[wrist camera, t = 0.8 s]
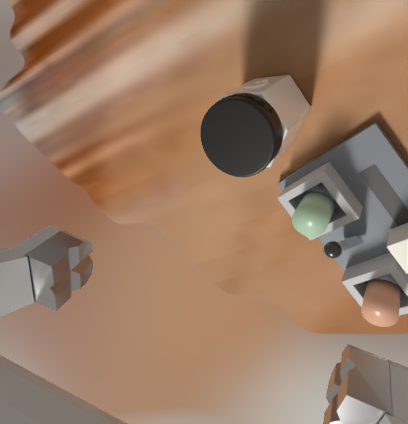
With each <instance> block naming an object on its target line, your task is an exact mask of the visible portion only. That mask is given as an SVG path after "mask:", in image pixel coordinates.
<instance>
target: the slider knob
mask: <svg viewBox="0 0 408 424" xmlns="http://www.w3.org/2000/svg"><path fill="white" fill-rule="evenodd" d="M387 248H388V250H389V251H390V252H391V254H392V255H393V256H394V258H395V259H396V260H397V262H398V263H399V264H400V266H401V267H402V268H403V270H404V271H405V272H406V274H407V273H408V223H405V224H403V225H400V226H398V227H395V228H393V229H390V230H389V234H388V240H387Z"/></svg>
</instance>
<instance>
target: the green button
mask: <svg viewBox="0 0 408 424" xmlns="http://www.w3.org/2000/svg"><path fill="white" fill-rule="evenodd" d="M333 212H334V202H333V200H332V199H331V198H330V197H329V196H328V195H327V194H325V193H323V192H319V191H313V192H309V193H307V194H306V195H305V196H304V197H303V199H302V200H301V202H300V204H299V205H298V207H297V209H296V210H295V212H294V214H293V216H292V223H293V226H294V227H295V229H296V230H297V231H298V232H299V233H301V234H303V235H305V236H308V237H316V236H319V235H321V234H323V233H324V232H325V230H326V229H327V226H328V224H329V222H330V219H331V217H332V215H333Z"/></svg>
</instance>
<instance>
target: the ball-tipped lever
mask: <svg viewBox="0 0 408 424" xmlns="http://www.w3.org/2000/svg"><path fill="white" fill-rule="evenodd" d="M362 243H364V242H363V240H362V238H361V236H360V234H358V235H355V236H352V237H350V238H347V239H344V240H341V241H339V242H336V241H330V242H328V243H327V244H326V245H325V247H324V248H322V249H323V251H324V254H325V256H326V258H328V257H330V258H337V257H339V256H340V255H341V253H342V252H343V251H345V250H348V249H350V248H352V247H355V246H357V245H359V244H362Z"/></svg>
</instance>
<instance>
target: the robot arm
mask: <svg viewBox="0 0 408 424" xmlns="http://www.w3.org/2000/svg"><path fill="white" fill-rule="evenodd" d="M92 252H93V251H92V243H91V242H90V241H88V240H85V239H83V238H81V237H79V236H76V235H74V234H72V233H69V232H67V231H64V230H62V229H59V228H57V227H55V226H47V227H46V228H44V229H42V230H41V231H39V232H37V233H36V234H34V235H33V236H31V237H29V238H28V239H26V240H25V241H23V242H22V243H20V244H18V245H17V246H15V247H14V248H12V249H8V248H4V249H0V316H2V315H4V314H7V313H9V312H12V311H15V310H17V309H20V308H22V307H25V306H27V305H30V304H32V303H34V301H35V302H37V303H40V304H42V305H44V306H46V307H49V308H51V309H53V310H56V311H57V310H58V309H59V308H60V307H61V306H62V305H63V304H64V303H66V302H67V301H68V300H69V299H70V298H71V295H72V291H74V290H78V289H81V288H82V287H83V286H84V285H85V284H86V283H87V281H88V279H89V278H90V276H91V274H92V269H93V262H92V260H91V258H90V256H89V255H90V254H91V253H92ZM326 398H327V400H328V402H329V406H328V408H327V409H326V411H325V413H324V422H323V424H408V367H405V366H403V365H400V364H398V363H395V362H392V361H390V360H386V359H384V358H382V357H379V356H376V355H374V354H372V353H369V352H366V351H364V350H361V349H359V348H356V347H354V346H351V345H347V346H346V347H345V349H344V350H343V352H342V358H341V362H340V363H337V364H336V366H335V367H334V370H333V372H332V374H331V377H330V380H329V384H328V389H327V396H326ZM0 424H127V423H125V422H124V421H122V420H120V419H118V418H116V417H114V416H112V415H111V414H109V413H107V412H105V411H103V410H101V409H99V408H98V407H96V406H94V405H92V404H90V403H88V402H86V401H84V400H83V399H81V398H79V397H77V396H75V395H73V394H72V393H70V392H68V391H66V390H64V389H62V388H60V387H59V386H57V385H55V384H53V383H51V382H49V381H47V380H46V379H44V378H42V377H40V376H38V375H36V374H35V373H33V372H31V371H29V370H27V369H25V368H23V367H22V366H20V365H18V364H16V363H14V362H12V361H10V360H8V359H6V358H5V357H3V356H1V355H0Z"/></svg>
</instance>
